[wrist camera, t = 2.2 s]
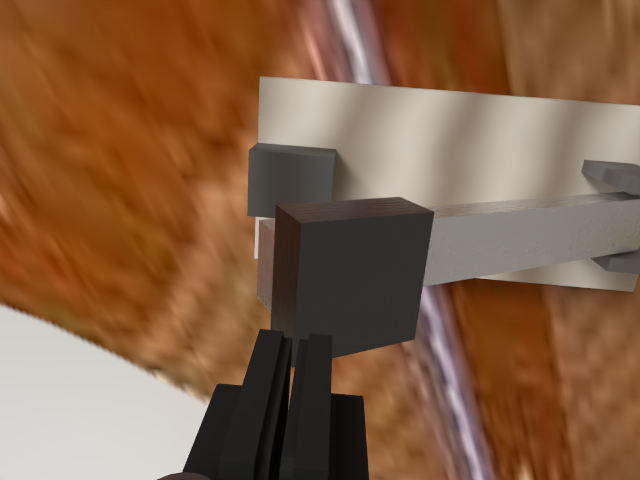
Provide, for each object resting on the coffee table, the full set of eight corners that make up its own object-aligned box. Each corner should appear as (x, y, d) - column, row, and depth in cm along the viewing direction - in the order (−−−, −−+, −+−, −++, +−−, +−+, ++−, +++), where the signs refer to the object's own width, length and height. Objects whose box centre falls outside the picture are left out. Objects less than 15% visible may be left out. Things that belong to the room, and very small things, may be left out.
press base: (671, 107, 31) (769, 119, 24) (617, 279, 35) (688, 334, 28) (265, 76, 31) (240, 78, 24) (259, 248, 35) (237, 294, 28)
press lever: (632, 173, 27) (701, 189, 24) (607, 256, 29) (669, 280, 26) (259, 193, 17) (301, 223, 14) (255, 317, 19) (292, 367, 16)
